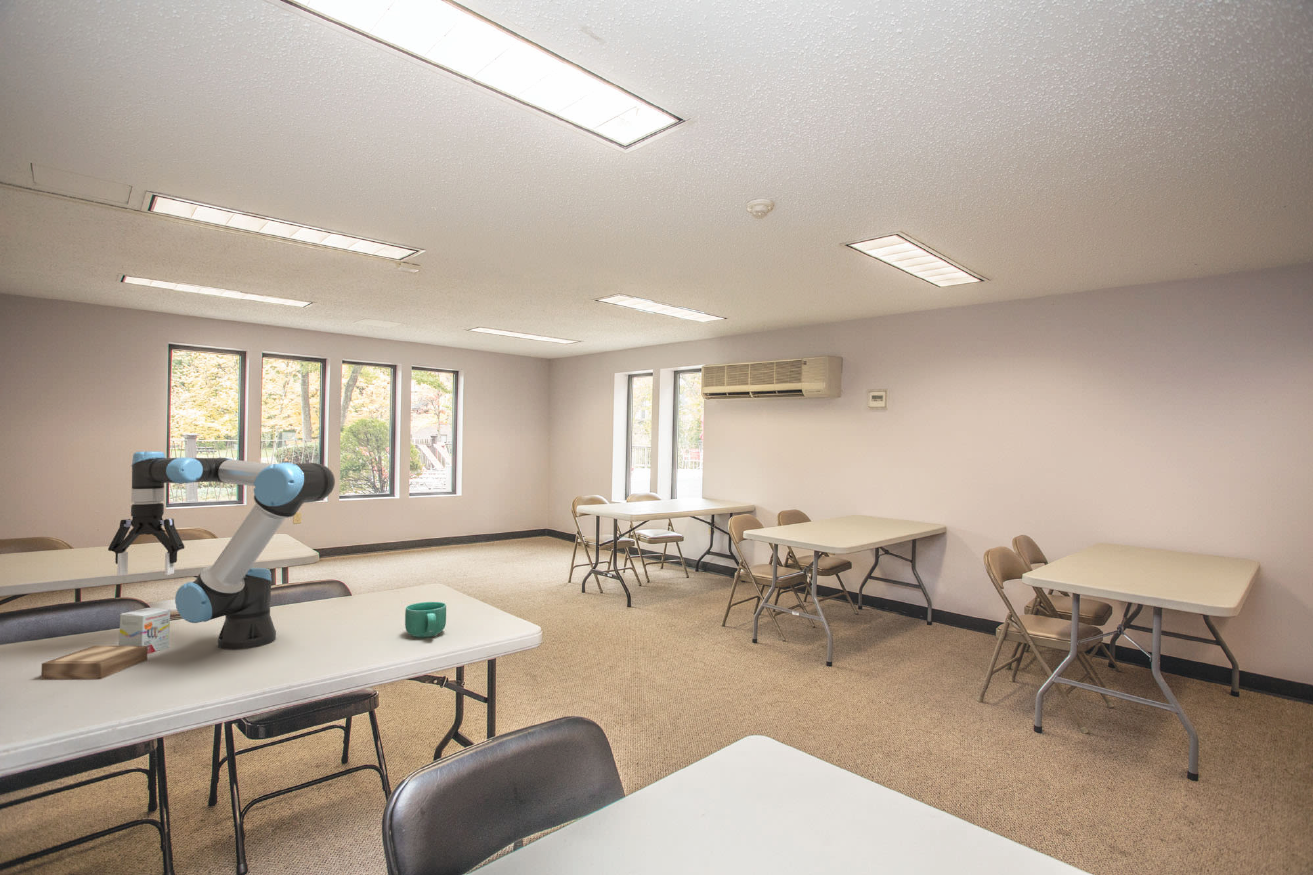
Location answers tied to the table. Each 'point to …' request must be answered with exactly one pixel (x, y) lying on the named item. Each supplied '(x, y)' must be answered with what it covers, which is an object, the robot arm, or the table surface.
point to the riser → (94, 662)
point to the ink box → (145, 629)
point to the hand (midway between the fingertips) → (146, 574)
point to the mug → (425, 619)
